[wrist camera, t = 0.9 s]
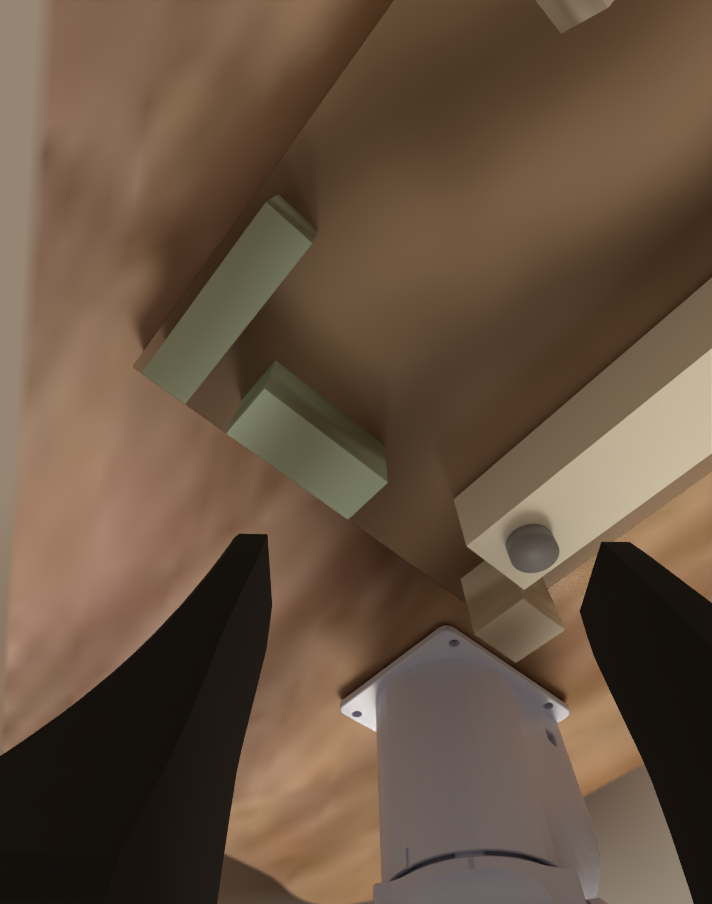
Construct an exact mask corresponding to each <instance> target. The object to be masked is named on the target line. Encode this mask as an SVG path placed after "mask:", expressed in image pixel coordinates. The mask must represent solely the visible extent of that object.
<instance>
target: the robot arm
mask: <svg viewBox="0 0 712 904" xmlns="http://www.w3.org/2000/svg"><path fill="white" fill-rule="evenodd" d="M271 610H272V597H271V581H270V566H269V551H268V536H267V534H238V535H237V536H236V537H235V538H234V539H233V540H232V542H231V543H230V545H229V546H228V547H227V549H226V550H225V551H224V553H223V554H222V555H221V557H220V558H219V559H218V561H217V562H216V563H215V565H214V566H213V567H212V568H211V570H210V571H209V572H208V574H207V575H206V576H205V577H204V579H203V580H202V581H201V582H200V583H199V584H198V586H197V587H196V588H195V589H194V590H193V592H192V593H191V594H190V595H189V596H188V598H187V599H186V600H185V601H184V602H183V603H182V604H181V606H180V607H179V608H178V609H177V610H176V611H175V612H174V613H173V614H172V615H171V616H170V617H169V618H168V619H167V620H166V622H165V623H164V624H163V625H162V626H161V627H160V628H159V629H158V630H157V631H156V632H155V633H154V634H153V635H152V636H151V637H150V638H149V639H148V640H147V641H146V642H145V643H144V644H143V645H142V646H141V647H140V648H139V649H138V650H137V651H136V652H135V653H134V654H133V655H131V656H130V657H129V658H128V659H127V660H126V661H125V662H124V663H123V664H121V665H120V666H119V667H118V668H117V669H116V670H115V671H114V672H112V673H111V674H110V675H109V676H108V677H107V678H105V679H104V680H103V681H102V682H100V683H99V684H98V685H97V686H96V687H94V688H93V689H92V690H91V691H90V692H88V693H87V694H86V695H85V696H84V697H82V698H81V699H80V700H79V701H77V702H76V703H75V704H73V705H72V706H71V707H70V708H68V709H67V710H66V711H64V712H63V713H62V714H60V715H59V716H57V717H56V718H55V719H53V720H52V721H50V722H49V723H48V724H46V725H45V726H43V727H42V728H41V729H39V730H38V731H36V732H35V733H34V734H32V735H31V736H29V737H28V738H27V739H25V740H24V741H22V742H21V743H19V744H18V745H16V746H15V747H13V748H12V749H10V750H9V751H7V752H6V753H4V754H3V755H1V756H0V904H217V900H218V893H219V885H220V878H221V871H222V865H223V858H224V851H225V844H226V837H227V830H228V824H229V817H230V811H231V804H232V798H233V792H234V785H235V779H236V773H237V768H238V763H239V758H240V754H241V749H242V745H243V741H244V737H245V733H246V729H247V725H248V721H249V717H250V713H251V709H252V705H253V701H254V697H255V693H256V689H257V685H258V681H259V677H260V673H261V669H262V665H263V661H264V657H265V652H266V648H267V640H268V633H269V626H270V618H271ZM580 613H581V617H582V620H583V624H584V627H585V630H586V634H587V637H588V640H589V643H590V646H591V649H592V652H593V655H594V657H595V659H596V661H597V664H598V666H599V668H600V670H601V672H602V675H603V677H604V679H605V681H606V683H607V685H608V687H609V690H610V692H611V694H612V696H613V698H614V700H615V702H616V704H617V706H618V709H619V711H620V713H621V715H622V717H623V719H624V721H625V723H626V725H627V727H628V730H629V732H630V734H631V736H632V738H633V740H634V742H635V744H636V746H637V749H638V751H639V753H640V755H641V757H642V759H643V762H644V764H645V766H646V768H647V771H648V773H649V776H650V778H651V780H652V783H653V786H654V789H655V791H656V794H657V797H658V799H659V802H660V805H661V808H662V811H663V813H664V816H665V819H666V822H667V824H668V827H669V830H670V833H671V835H672V838H673V842H674V844H675V847H676V851H677V854H678V856H679V860H680V863H681V866H682V869H683V872H684V875H685V877H686V881H687V884H688V886H689V890H690V893H691V896H692V899H693V903H694V904H712V603H711V602H710V601H708V600H707V599H706V598H704V597H703V596H702V595H700V594H699V593H698V592H696V591H695V590H694V589H692V588H691V587H690V586H688V585H687V584H686V583H684V582H683V581H682V580H680V579H679V578H678V577H677V576H675V575H674V574H673V573H671V572H670V571H669V570H667V569H666V568H665V567H663V566H662V565H661V564H659V563H658V562H657V561H655V560H654V559H653V558H651V557H650V556H649V555H647V554H646V553H645V552H643V551H642V550H640V549H639V548H637V547H636V546H634V545H633V544H631V543H630V542H601V544H600V548H599V551H598V554H597V557H596V561H595V564H594V567H593V570H592V574H591V577H590V580H589V583H588V587H587V590H586V593H585V596H584V600H583V603H582V606H581V609H580ZM451 640H455V641H451ZM340 710H341V712H342V713H343V714H345V715H346V716H348V717H350V718H352V719H354V720H355V721H357V722H359V723H361V724H363V725H364V726H366V727H368V728H370V729H372V730H373V731H375V732H376V733H377V762H378V791H379V819H380V848H381V877H382V883H377V884H375V885H374V886H373V900H374V904H607V903H606V902H605V901H604V900H602V899H600V898H596V895H597V891H598V887H599V878H600V853H599V847H598V841H597V837H596V834H595V831H594V828H593V825H592V822H591V819H590V816H589V814H588V811H587V808H586V805H585V802H584V799H583V796H582V793H581V791H580V788H579V785H578V782H577V779H576V776H575V773H574V771H573V768H572V765H571V762H570V759H569V756H568V753H567V750H566V748H565V745H564V742H563V739H562V736H561V733H560V730H559V727H558V725H557V723H558V722H560V721H562V720H563V719H565V718H566V717H568V716H569V714H570V711H569V708H568V706H567V704H565V703H564V702H563V701H561V700H560V699H558V698H557V697H555V696H554V695H552V694H551V693H549V692H548V691H546V690H545V689H543V688H542V687H540V686H539V685H538V684H536V683H535V682H533V681H532V680H530V679H529V678H527V677H526V676H524V675H523V674H521V673H520V672H518V671H517V670H515V669H514V668H513V667H511V666H510V665H508V664H507V663H505V662H504V661H502V660H501V659H499V658H498V657H496V656H495V655H493V654H492V653H490V652H489V651H488V650H486V649H485V648H483V647H482V646H480V645H479V644H477V643H476V642H474V641H473V640H471V639H470V638H468V637H467V636H465V635H464V634H463V633H461V632H460V631H458V630H457V629H455V628H454V627H452V626H447V625H445V626H441V627H439V628H438V629H436V630H435V631H434V632H432V633H431V634H430V635H428V636H427V637H426V638H424V639H423V640H422V641H420V642H419V643H418V644H416V645H415V646H414V647H412V648H411V649H410V650H408V651H407V652H406V653H404V654H403V655H402V656H400V657H399V658H398V659H396V660H395V661H394V662H392V663H391V664H390V665H388V666H387V667H386V668H384V669H383V670H382V671H380V672H379V673H378V674H376V675H375V676H374V677H372V678H371V679H370V680H368V681H367V682H366V683H364V684H363V685H362V686H360V687H359V688H358V689H357V690H355V691H354V692H353V693H351V694H350V695H349V696H347V697H346V698H345V699H343V700H342V701H341V703H340Z"/></svg>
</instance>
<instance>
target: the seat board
mask: <svg viewBox="0 0 712 904" xmlns="http://www.w3.org/2000/svg"><path fill="white" fill-rule="evenodd" d="M711 278H712V0H394V1H393V2H392V4H391V5H390V7H389V8H388V9H387V11H386V12H385V14H384V15H383V16H382V18H381V19H380V21H379V22H378V23H377V25H376V26H375V28H374V29H373V30H372V32H371V33H370V35H369V36H368V37H367V39H366V40H365V42H364V43H363V44H362V46H361V47H360V49H359V50H358V51H357V53H356V54H355V56H354V57H353V58H352V60H351V61H350V63H349V64H348V65H347V67H346V68H345V70H344V71H343V72H342V74H341V75H340V77H339V78H338V79H337V81H336V82H335V84H334V85H333V86H332V88H331V89H330V91H329V92H328V93H327V95H326V96H325V98H324V99H323V100H322V102H321V103H320V105H319V106H318V107H317V109H316V110H315V112H314V113H313V114H312V116H311V117H310V119H309V120H308V121H307V123H306V124H305V126H304V127H303V128H302V130H301V131H300V133H299V134H298V135H297V137H296V138H295V140H294V141H293V142H292V144H291V145H290V147H289V148H288V149H287V151H286V152H285V154H284V155H283V156H282V158H281V159H280V161H279V162H278V163H277V165H276V166H275V168H274V169H273V170H272V172H271V173H270V175H269V176H268V177H267V179H266V180H265V182H264V183H263V184H262V186H261V187H260V189H259V190H258V191H257V193H256V194H255V196H254V197H253V198H252V200H251V201H250V203H249V204H248V205H247V207H246V208H245V210H244V211H243V212H242V214H241V215H240V217H239V218H238V219H237V221H236V222H235V224H234V225H233V226H232V228H231V229H230V231H229V232H228V233H227V235H226V236H225V238H224V239H223V240H222V242H221V243H220V245H219V246H218V247H217V249H216V250H215V252H214V253H213V254H212V256H211V257H210V259H209V260H208V261H207V263H206V264H205V266H204V267H203V268H202V270H201V271H200V273H199V274H198V275H197V277H196V278H195V280H194V281H193V282H192V284H191V285H190V287H189V288H188V289H187V291H186V292H185V294H184V295H183V296H182V298H181V299H180V301H179V302H178V304H177V305H176V306H175V308H174V309H173V311H172V312H171V313H170V315H169V316H168V318H167V319H166V320H165V322H164V323H163V325H162V326H161V327H160V329H159V330H158V332H157V333H156V334H155V336H154V337H153V339H152V340H151V341H150V343H149V344H148V346H147V347H146V348H145V350H144V351H143V353H142V354H141V355H140V357H139V358H138V360H137V361H136V362H135V364H134V365H133V368H135V369H136V370H138V371H139V372H140V373H141V374H143V375H144V376H145V377H147V378H148V379H150V380H151V381H153V382H154V383H155V384H157V385H158V386H160V387H161V388H162V389H164V390H165V391H167V392H168V393H169V394H171V395H172V396H174V397H175V398H177V399H178V400H179V401H181V402H182V403H184V404H186V405H187V406H188V407H190V408H191V409H193V410H194V411H195V412H197V413H198V414H200V415H201V416H203V417H204V418H205V419H207V420H208V421H210V422H211V423H212V424H214V425H215V426H217V427H218V428H219V429H221V430H222V431H224V432H225V433H226V434H227V435H229V436H230V437H232V438H233V439H234V440H236V441H237V442H239V443H240V444H242V445H243V446H244V447H246V448H247V449H249V450H250V451H251V452H253V453H254V454H256V455H257V456H258V457H260V458H261V459H263V460H264V461H266V462H267V463H268V464H270V465H271V466H273V467H274V468H275V469H277V470H278V471H280V472H281V473H282V474H284V475H285V476H287V477H288V478H290V479H291V480H292V481H294V482H295V483H297V484H298V485H299V486H301V487H302V488H304V489H305V490H306V491H308V492H309V493H311V494H312V495H314V496H315V497H316V498H318V499H319V500H321V501H322V502H323V503H325V504H326V505H328V506H329V507H330V508H332V509H333V510H335V511H336V512H338V513H339V514H340V515H342V516H343V517H345V518H346V519H347V520H349V521H351V522H352V523H354V524H355V525H356V526H358V527H359V528H361V529H362V530H364V531H365V532H366V533H368V534H369V535H371V536H372V537H373V538H375V539H376V540H378V541H379V542H380V543H382V544H383V545H385V546H386V547H388V548H389V549H390V550H392V551H393V552H395V553H396V554H397V555H399V556H400V557H402V558H403V559H404V560H406V561H407V562H409V563H410V564H412V565H413V566H414V567H416V568H417V569H419V570H420V571H421V572H423V573H424V574H426V575H427V576H428V577H430V578H431V579H433V580H434V581H436V582H437V583H438V584H440V585H441V586H443V587H444V588H445V589H447V590H448V591H450V592H451V593H452V594H454V595H455V596H457V597H458V598H460V599H461V600H462V601H464V602H465V603H467V607H468V612H469V616H470V620H471V624H472V628H473V632H474V635H476V636H477V637H479V638H480V639H482V640H483V641H485V642H486V643H487V644H489V645H490V646H492V647H493V648H495V649H496V650H498V651H499V652H501V653H502V654H504V655H505V656H506V657H508V658H509V659H511V660H512V661H514V662H515V663H517V662H518V661H520V660H521V659H523V658H524V657H526V656H527V655H529V654H530V653H532V652H533V651H535V650H536V649H538V648H539V647H540V646H542V645H543V644H545V643H546V642H548V641H549V640H551V639H552V638H554V637H555V636H557V635H558V634H560V633H561V632H563V631H564V630H565V629H564V626H563V624H562V622H561V619H560V617H559V615H558V613H557V610H556V608H555V606H554V603H553V601H552V599H551V596H550V594H549V592H548V588H549V587H551V586H552V585H553V584H555V583H556V582H558V581H559V580H560V579H562V578H563V577H565V576H566V575H567V574H569V573H570V572H572V571H573V570H574V569H576V568H577V567H579V566H580V565H581V564H583V563H584V562H586V561H587V560H588V559H590V558H591V557H593V556H594V555H595V554H597V553H598V551H599V548H600V544H601V542H614V541H615V540H616V539H618V538H619V537H621V536H622V535H623V534H625V533H626V532H628V531H629V530H630V529H632V528H633V527H635V526H636V525H637V524H639V523H640V522H642V521H643V520H644V519H646V518H647V517H649V516H650V515H651V514H653V513H654V512H656V511H657V510H658V509H660V508H661V507H663V506H664V505H665V504H667V503H668V502H670V501H671V500H672V499H674V498H675V497H677V496H678V495H679V494H681V493H682V492H684V491H685V490H686V489H688V488H689V487H691V486H692V485H693V484H695V483H696V482H698V481H699V480H700V479H702V478H703V477H705V476H706V475H707V474H709V473H710V472H712V454H710V455H709V456H708V457H706V458H705V459H704V460H702V461H701V462H699V463H698V464H697V465H695V466H694V467H693V468H691V469H690V470H688V471H687V472H686V473H684V474H683V475H682V476H680V477H679V478H677V479H676V480H675V481H673V482H672V483H671V484H669V485H668V486H666V487H665V488H664V489H662V490H661V491H660V492H658V493H657V494H655V495H654V496H653V497H651V498H650V499H649V500H647V501H646V502H644V503H643V504H642V505H640V506H639V507H638V508H636V509H635V510H633V511H632V512H631V513H629V514H628V515H627V516H625V517H624V518H622V519H621V520H620V521H618V522H617V523H616V524H614V525H613V526H611V527H610V528H609V529H607V530H606V531H605V532H603V533H602V534H600V535H599V536H598V537H596V538H595V539H594V540H592V541H591V542H589V543H588V544H587V545H585V546H584V547H583V548H581V549H580V550H578V551H577V552H576V553H574V554H573V555H572V556H570V557H569V558H567V559H566V560H565V561H563V562H562V563H561V564H559V565H558V566H556V567H555V568H554V569H552V570H551V571H550V572H548V573H547V574H545V575H544V576H543V577H541V578H540V579H539V580H537V581H536V582H534V583H533V584H532V585H530V586H529V587H528V588H526V589H525V590H524V589H522V588H521V587H520V586H518V585H517V584H516V583H514V582H513V581H512V580H510V579H509V578H508V577H507V576H505V575H504V574H503V573H501V572H500V571H499V570H497V569H496V568H495V567H493V566H492V565H491V564H489V563H488V562H487V561H485V560H484V559H483V558H481V557H480V556H479V555H477V554H476V553H475V552H474V551H472V550H471V549H470V548H468V547H467V546H466V543H465V539H464V535H463V532H462V528H461V525H460V521H459V517H458V514H457V510H456V506H455V503H454V499H455V498H456V497H457V496H458V495H459V494H460V493H462V492H463V491H464V490H465V489H466V488H467V487H469V486H470V485H471V484H472V483H473V482H474V481H476V480H477V479H478V478H479V477H480V476H481V475H483V474H484V473H485V472H486V471H487V470H488V469H490V468H491V467H492V466H493V465H494V464H495V463H497V462H498V461H499V460H500V459H501V458H502V457H504V456H505V455H506V454H507V453H508V452H509V451H511V450H512V449H513V448H514V447H515V446H516V445H518V444H519V443H520V442H521V441H522V440H523V439H524V438H526V437H527V436H528V435H529V434H530V433H531V432H533V431H534V430H535V429H536V428H537V427H538V426H540V425H541V424H542V423H543V422H544V421H545V420H547V419H548V418H549V417H550V416H551V415H552V414H554V413H555V412H556V411H557V410H558V409H559V408H561V407H562V406H563V405H564V404H565V403H566V402H568V401H569V400H570V399H571V398H572V397H573V396H575V395H576V394H577V393H578V392H579V391H580V390H582V389H583V388H584V387H585V386H586V385H587V384H588V383H590V382H591V381H592V380H593V379H594V378H595V377H597V376H598V375H599V374H600V373H601V372H602V371H604V370H605V369H606V368H607V367H608V366H609V365H611V364H612V363H613V362H614V361H615V360H616V359H618V358H619V357H620V356H621V355H622V354H623V353H625V352H626V351H627V350H628V349H629V348H630V347H632V346H633V345H634V344H635V343H636V342H637V341H639V340H640V339H641V338H642V337H643V336H644V335H646V334H647V333H648V332H649V331H650V330H651V329H652V328H654V327H655V326H656V325H657V324H658V323H659V322H661V321H662V320H663V319H664V318H665V317H666V316H668V315H669V314H670V313H671V312H672V311H673V310H675V309H676V308H677V307H678V306H679V305H680V304H682V303H683V302H684V301H685V300H686V299H687V298H689V297H690V296H691V295H692V294H693V293H694V292H696V291H697V290H698V289H699V288H700V287H701V286H703V285H704V284H705V283H706V282H707V281H708V280H710V279H711Z"/></svg>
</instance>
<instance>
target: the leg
mask: <svg viewBox="0 0 712 904" xmlns="http://www.w3.org/2000/svg"><path fill="white" fill-rule="evenodd" d="M710 454H712V278H711V279H710V280H708V281H707V282H706V283H705V284H704V285H703V286H701V287H700V288H699V289H698V290H697V291H696V292H694V293H693V294H692V295H691V296H690V297H689V298H687V299H686V300H685V301H684V302H683V303H682V304H680V305H679V306H678V307H677V308H676V309H675V310H673V311H672V312H671V313H670V314H669V315H668V316H666V317H665V318H664V319H663V320H662V321H661V322H659V323H658V324H657V325H656V326H655V327H654V328H652V329H651V330H650V331H649V332H648V333H647V334H646V335H644V336H643V337H642V338H641V339H640V340H639V341H637V342H636V343H635V344H634V345H633V346H632V347H630V348H629V349H628V350H627V351H626V352H625V353H623V354H622V355H621V356H620V357H619V358H618V359H616V360H615V361H614V362H613V363H612V364H611V365H609V366H608V367H607V368H606V369H605V370H604V371H602V372H601V373H600V374H599V375H598V376H597V377H595V378H594V379H593V380H592V381H591V382H590V383H588V384H587V385H586V386H585V387H584V388H583V389H582V390H580V391H579V392H578V393H577V394H576V395H575V396H573V397H572V398H571V399H570V400H569V401H568V402H566V403H565V404H564V405H563V406H562V407H561V408H559V409H558V410H557V411H556V412H555V413H554V414H552V415H551V416H550V417H549V418H548V419H547V420H545V421H544V422H543V423H542V424H541V425H540V426H538V427H537V428H536V429H535V430H534V431H533V432H531V433H530V434H529V435H528V436H527V437H526V438H524V439H523V440H522V441H521V442H520V443H519V444H518V445H516V446H515V447H514V448H513V449H512V450H511V451H509V452H508V453H507V454H506V455H505V456H504V457H502V458H501V459H500V460H499V461H498V462H497V463H495V464H494V465H493V466H492V467H491V468H490V469H488V470H487V471H486V472H485V473H484V474H483V475H481V476H480V477H479V478H478V479H477V480H476V481H474V482H473V483H472V484H471V485H470V486H469V487H467V488H466V489H465V490H464V491H463V492H462V493H460V494H459V495H458V496H457V497H456V498H455V499H454V503H455V506H456V510H457V514H458V517H459V521H460V525H461V528H462V532H463V535H464V539H465V543H466V546H467V547H468V548H470V549H471V550H472V551H474V552H475V553H476V554H477V555H479V556H480V557H481V558H483V559H484V560H485V561H487V562H488V563H489V564H491V565H492V566H493V567H495V568H496V569H497V570H499V571H500V572H501V573H503V574H504V575H505V576H507V577H508V578H509V579H510V580H512V581H513V582H514V583H516V584H517V585H518V586H520V587H521V588H522V589H524V590H525V589H526V588H528V587H529V586H530V585H532V584H533V583H534V582H536V581H537V580H539V579H540V578H541V577H543V576H544V575H545V574H547V573H548V572H550V571H551V570H552V569H554V568H555V567H556V566H558V565H559V564H561V563H562V562H563V561H565V560H566V559H567V558H569V557H570V556H572V555H573V554H574V553H576V552H577V551H578V550H580V549H581V548H583V547H584V546H585V545H587V544H588V543H589V542H591V541H592V540H594V539H595V538H596V537H598V536H599V535H600V534H602V533H603V532H605V531H606V530H607V529H609V528H610V527H611V526H613V525H614V524H616V523H617V522H618V521H620V520H621V519H622V518H624V517H625V516H627V515H628V514H629V513H631V512H632V511H633V510H635V509H636V508H638V507H639V506H640V505H642V504H643V503H644V502H646V501H647V500H649V499H650V498H651V497H653V496H654V495H655V494H657V493H658V492H660V491H661V490H662V489H664V488H665V487H666V486H668V485H669V484H671V483H672V482H673V481H675V480H676V479H677V478H679V477H680V476H682V475H683V474H684V473H686V472H687V471H688V470H690V469H691V468H693V467H694V466H695V465H697V464H698V463H699V462H701V461H702V460H704V459H705V458H706V457H708V456H709V455H710Z"/></svg>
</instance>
